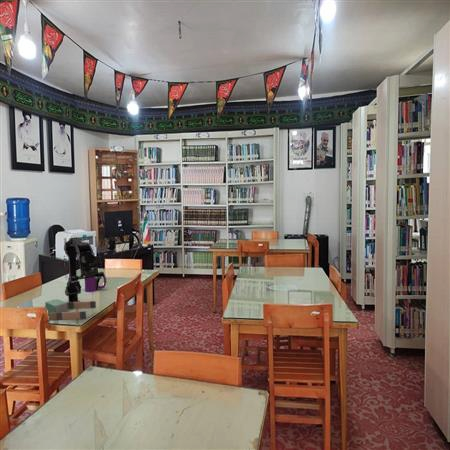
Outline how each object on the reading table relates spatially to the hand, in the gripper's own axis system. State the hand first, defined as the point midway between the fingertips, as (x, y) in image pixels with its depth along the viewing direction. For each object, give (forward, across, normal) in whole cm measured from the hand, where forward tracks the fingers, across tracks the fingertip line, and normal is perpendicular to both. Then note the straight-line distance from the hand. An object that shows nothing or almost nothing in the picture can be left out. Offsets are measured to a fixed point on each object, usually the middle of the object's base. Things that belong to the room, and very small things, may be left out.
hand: (88, 291), depth 202 cm
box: (+11, -12, +22) cm, 28 cm away
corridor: (+12, -6, +18) cm, 22 cm away
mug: (+3, +25, +56) cm, 61 cm away
